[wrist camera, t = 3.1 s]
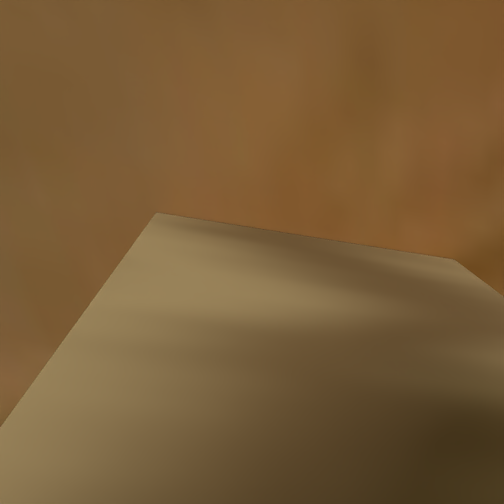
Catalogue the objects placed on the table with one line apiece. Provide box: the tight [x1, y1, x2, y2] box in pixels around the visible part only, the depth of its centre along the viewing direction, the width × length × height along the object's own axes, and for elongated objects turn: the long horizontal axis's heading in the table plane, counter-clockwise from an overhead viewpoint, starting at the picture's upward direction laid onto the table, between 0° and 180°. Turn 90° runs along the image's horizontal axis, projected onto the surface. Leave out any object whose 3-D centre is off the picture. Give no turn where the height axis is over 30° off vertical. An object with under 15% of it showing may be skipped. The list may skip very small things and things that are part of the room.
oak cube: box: [0, 212, 504, 504], centre depth 6 cm, size 6×6×6 cm
